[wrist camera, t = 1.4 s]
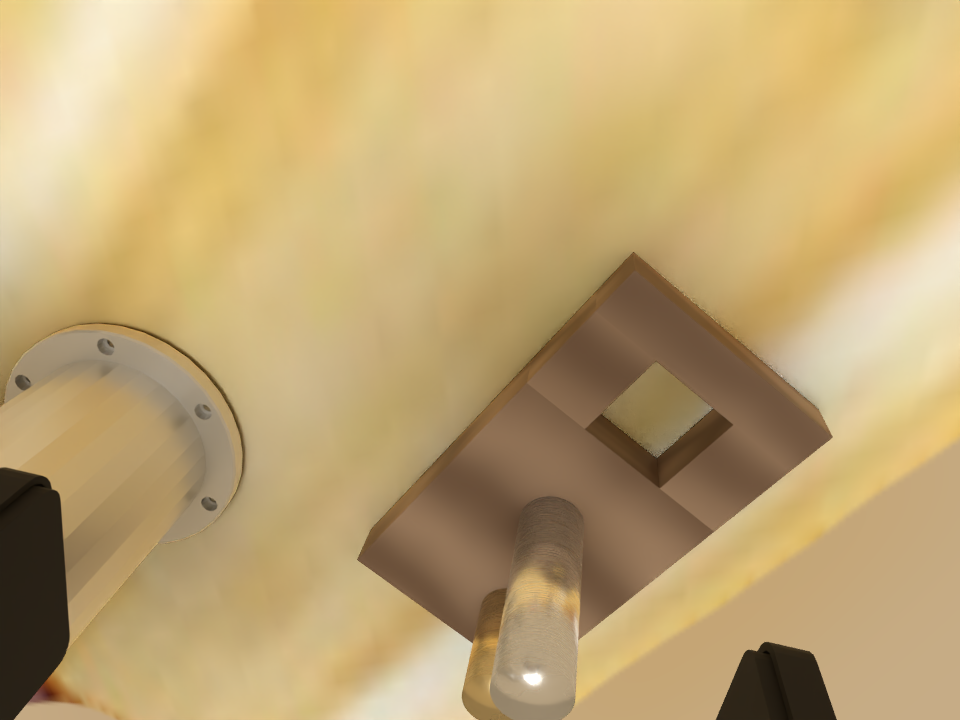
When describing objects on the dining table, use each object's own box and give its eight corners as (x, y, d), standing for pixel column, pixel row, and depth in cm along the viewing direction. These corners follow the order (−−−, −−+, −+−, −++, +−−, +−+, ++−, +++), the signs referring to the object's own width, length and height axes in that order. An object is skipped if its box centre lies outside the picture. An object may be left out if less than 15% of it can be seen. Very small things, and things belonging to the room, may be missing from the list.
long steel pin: (534, 556, 37) (510, 732, 28) (509, 506, 36) (475, 671, 27) (593, 540, 36) (588, 716, 27) (569, 488, 35) (555, 653, 26)
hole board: (530, 645, 43) (525, 681, 41) (370, 529, 41) (357, 559, 39) (818, 409, 35) (832, 437, 32) (633, 252, 33) (634, 270, 31)
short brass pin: (495, 641, 40) (479, 731, 35) (470, 596, 39) (450, 682, 34) (550, 627, 39) (541, 718, 34) (526, 582, 38) (513, 668, 33)
